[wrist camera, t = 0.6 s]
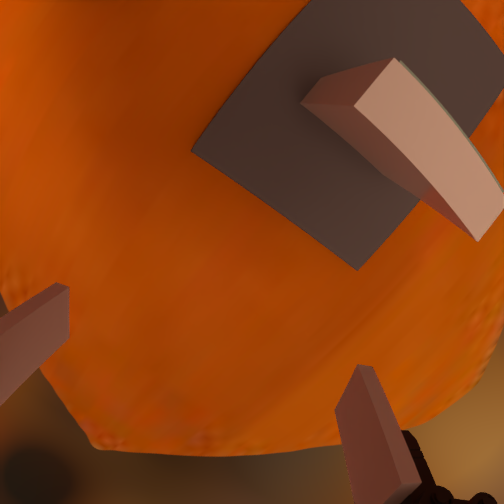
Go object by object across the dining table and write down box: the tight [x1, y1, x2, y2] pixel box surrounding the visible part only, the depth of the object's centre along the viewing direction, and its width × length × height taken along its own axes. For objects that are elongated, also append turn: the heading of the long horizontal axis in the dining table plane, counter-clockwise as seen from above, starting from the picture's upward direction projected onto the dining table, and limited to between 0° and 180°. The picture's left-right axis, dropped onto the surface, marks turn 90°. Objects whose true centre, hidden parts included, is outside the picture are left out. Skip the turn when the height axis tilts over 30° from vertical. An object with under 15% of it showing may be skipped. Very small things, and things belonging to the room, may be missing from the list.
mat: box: [191, 0, 504, 271], centre depth 25 cm, size 30×20×1 cm, turn 143°
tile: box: [300, 58, 504, 242], centre depth 19 cm, size 3×10×15 cm, turn 53°
